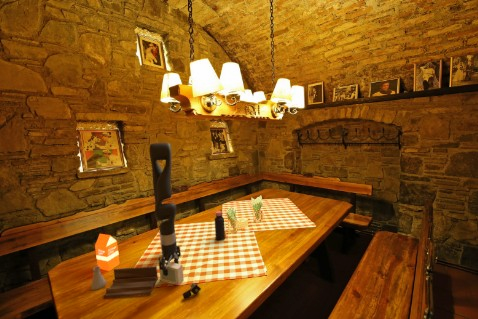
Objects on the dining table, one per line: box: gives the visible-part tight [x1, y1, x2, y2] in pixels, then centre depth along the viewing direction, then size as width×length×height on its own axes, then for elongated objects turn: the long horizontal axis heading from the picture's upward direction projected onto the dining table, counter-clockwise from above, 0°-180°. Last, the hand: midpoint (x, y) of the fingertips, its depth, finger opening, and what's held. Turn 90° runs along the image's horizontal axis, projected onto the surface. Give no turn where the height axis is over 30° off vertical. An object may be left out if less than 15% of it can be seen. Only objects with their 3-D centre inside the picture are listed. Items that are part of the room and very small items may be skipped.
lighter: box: [182, 283, 202, 300], centre depth 108 cm, size 8×2×5 cm
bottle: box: [214, 210, 226, 241], centre depth 164 cm, size 7×7×20 cm
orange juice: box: [94, 233, 120, 272], centre depth 136 cm, size 8×9×20 cm
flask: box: [90, 265, 107, 291], centre depth 119 cm, size 7×7×10 cm
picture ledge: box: [103, 265, 159, 299], centre depth 116 cm, size 12×22×8 cm, turn 92°
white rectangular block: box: [158, 261, 185, 286], centre depth 120 cm, size 12×4×9 cm, turn 67°
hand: (171, 270), depth 120 cm, fingers open, 8 cm apart
